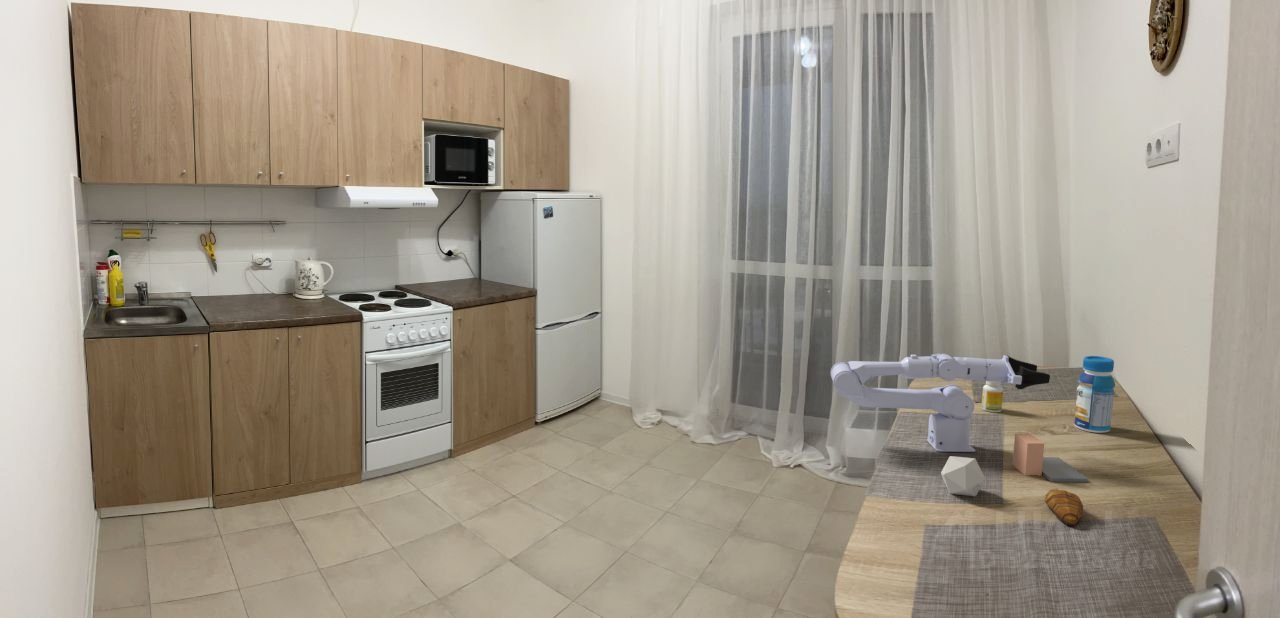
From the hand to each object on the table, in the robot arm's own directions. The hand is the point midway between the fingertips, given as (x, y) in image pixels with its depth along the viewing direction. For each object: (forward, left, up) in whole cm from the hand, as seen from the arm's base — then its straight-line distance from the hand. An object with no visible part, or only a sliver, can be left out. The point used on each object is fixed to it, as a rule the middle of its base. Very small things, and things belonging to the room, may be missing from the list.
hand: (1042, 373), depth 154 cm
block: (-8, -12, -20) cm, 25 cm away
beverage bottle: (+23, +16, -21) cm, 34 cm away
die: (-27, -24, -21) cm, 42 cm away
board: (-2, -12, -20) cm, 24 cm away
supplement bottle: (+3, +31, -21) cm, 37 cm away
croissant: (-11, -32, -21) cm, 40 cm away
